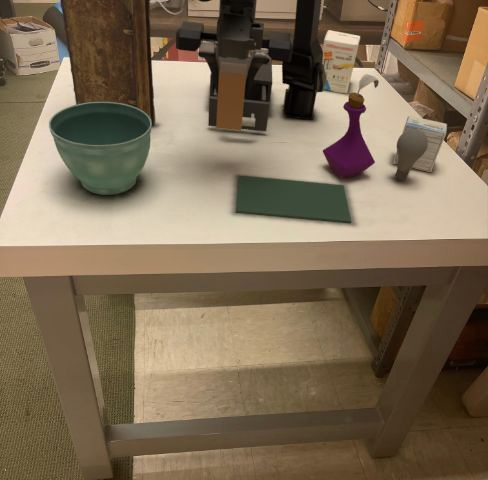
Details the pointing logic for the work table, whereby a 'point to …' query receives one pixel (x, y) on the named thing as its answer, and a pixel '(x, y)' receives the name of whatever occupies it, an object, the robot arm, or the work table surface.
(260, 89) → the drawer
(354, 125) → the perfume bottle
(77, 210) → the work table surface
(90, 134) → the flower pot
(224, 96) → the box
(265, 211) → the front mat
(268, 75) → the dark grey box
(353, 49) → the ink box
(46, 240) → the work table surface
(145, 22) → the book
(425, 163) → the medicine box
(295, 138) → the work table surface
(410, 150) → the light bulb
